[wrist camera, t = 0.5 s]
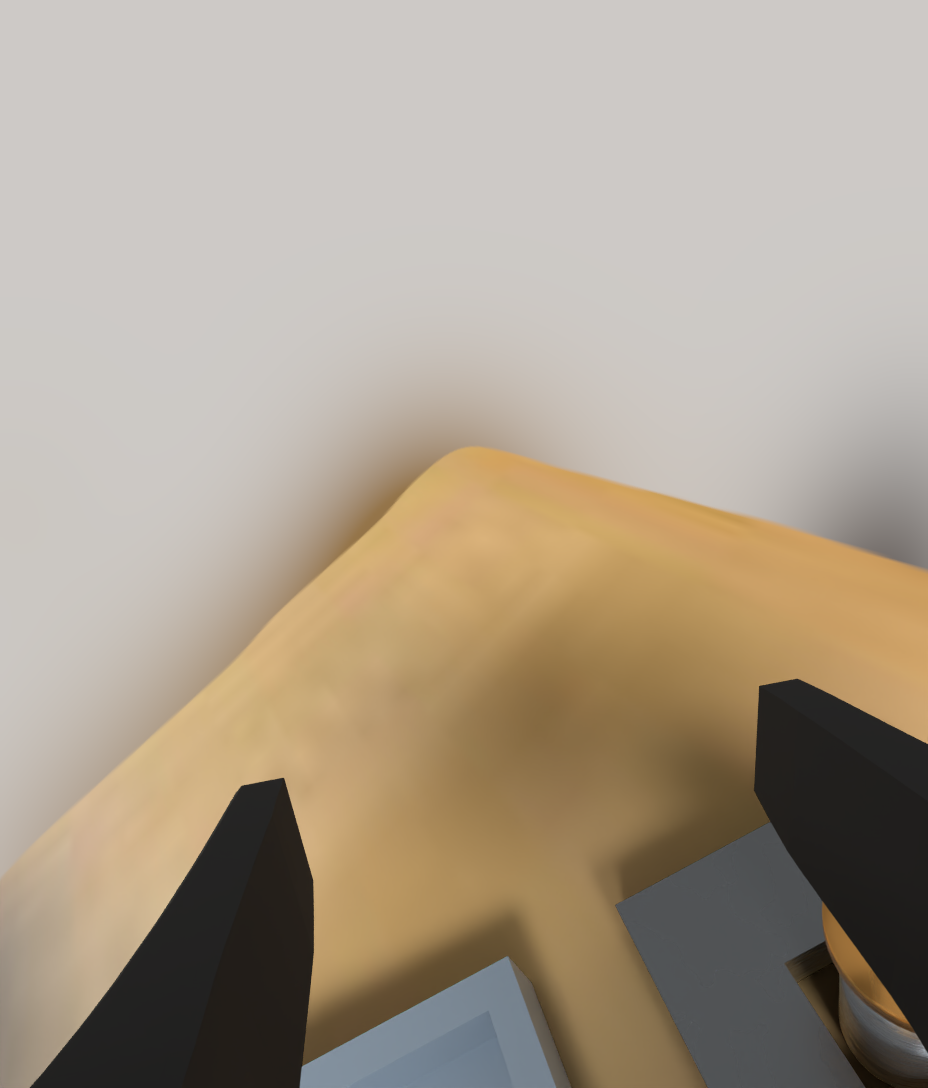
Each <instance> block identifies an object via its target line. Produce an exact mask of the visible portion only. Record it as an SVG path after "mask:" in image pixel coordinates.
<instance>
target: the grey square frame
mask: <svg viewBox="0 0 928 1088" xmlns="http://www.w3.org/2000/svg"><path fill="white" fill-rule="evenodd" d="M615 906H616V908H617V910H618V912H619V914H620V916H621V918H622V920H623V922H624V924H625V926H626V928H627V929H628V931H629V933H630V935H631V937H632V939H633V941H634V943H635V945H636V947H637V949H638V951H639V953H640V955H641V957H642V959H643V961H644V963H645V965H646V967H647V969H648V971H649V973H650V975H651V977H652V979H653V981H654V983H655V985H656V987H657V989H658V991H659V993H660V994H661V996H662V998H663V1000H664V1002H665V1004H666V1006H667V1008H668V1010H669V1012H670V1014H671V1016H672V1018H673V1020H674V1022H675V1024H676V1026H677V1028H678V1030H679V1032H680V1034H681V1036H682V1038H683V1040H684V1042H685V1044H686V1046H687V1048H688V1050H689V1052H690V1054H691V1056H692V1057H693V1059H694V1061H695V1063H696V1065H697V1067H698V1069H699V1071H700V1073H701V1075H702V1077H703V1079H704V1081H705V1083H706V1085H707V1087H708V1088H865V1086H864V1085H863V1083H862V1082H861V1080H860V1079H859V1077H858V1076H857V1074H856V1073H855V1071H854V1070H853V1068H852V1066H851V1065H850V1063H849V1062H848V1060H847V1059H846V1057H845V1056H844V1054H843V1053H842V1051H841V1050H840V1048H839V1047H838V1045H837V1044H836V1042H835V1040H834V1039H833V1037H832V1036H831V1034H830V1033H829V1031H828V1030H827V1028H826V1027H825V1025H824V1024H823V1022H822V1021H821V1019H820V1018H819V1016H818V1014H817V1013H816V1011H815V1010H814V1008H813V1007H812V1005H811V1004H810V1002H809V1001H808V999H807V998H806V996H805V995H804V993H803V992H802V990H801V988H800V987H799V985H798V984H797V982H798V981H800V980H802V979H803V978H805V977H807V976H809V975H811V974H813V973H814V972H816V971H818V970H820V969H822V968H824V967H825V966H827V965H829V964H831V963H833V961H832V959H831V957H830V954H829V952H828V949H827V946H826V942H825V938H824V933H823V923H822V900H821V898H820V897H819V896H818V894H817V893H816V891H815V890H814V889H813V887H812V886H811V884H810V883H809V882H808V880H807V879H806V877H805V876H804V875H803V873H802V872H801V870H800V869H799V868H798V866H797V865H796V863H795V862H794V860H793V859H792V857H791V856H790V855H789V853H788V852H787V850H786V848H785V846H784V845H783V843H782V841H781V839H780V838H779V836H778V834H777V832H776V831H775V829H774V827H773V825H772V823H771V822H769V823H767V824H765V825H763V826H761V827H760V828H758V829H756V830H754V831H752V832H750V833H748V834H747V835H745V836H743V837H741V838H739V839H737V840H735V841H734V842H732V843H730V844H728V845H726V846H724V847H722V848H721V849H719V850H717V851H715V852H713V853H711V854H709V855H708V856H706V857H704V858H702V859H700V860H698V861H696V862H695V863H693V864H691V865H689V866H687V867H685V868H683V869H681V870H680V871H678V872H676V873H674V874H672V875H670V876H668V877H667V878H665V879H663V880H661V881H659V882H657V883H655V884H654V885H652V886H650V887H648V888H646V889H644V890H642V891H641V892H639V893H637V894H635V895H633V896H631V897H629V898H628V899H626V900H624V901H622V902H620V903H618V904H616V905H615Z"/></svg>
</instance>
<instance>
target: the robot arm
mask: <svg viewBox="0 0 928 1088" xmlns="http://www.w3.org/2000/svg"><path fill="white" fill-rule="evenodd" d="M754 791H755V793H756V795H757V797H758V799H759V801H760V803H761V805H762V806H763V808H764V810H765V812H766V814H767V816H768V818H769V820H770V822H771V823H772V825H773V827H774V829H775V831H776V832H777V834H778V836H779V838H780V839H781V841H782V843H783V845H784V846H785V848H786V850H787V852H788V853H789V855H790V856H791V857H792V859H793V860H794V862H795V863H796V865H797V866H798V868H799V869H800V870H801V872H802V873H803V875H804V876H805V877H806V879H807V880H808V882H809V883H810V884H811V886H812V887H813V889H814V890H815V891H816V893H817V894H818V896H819V897H820V898H821V900H822V901H823V903H824V904H825V905H826V907H827V908H828V910H829V911H830V912H831V914H832V915H833V916H834V918H835V919H836V921H837V922H838V923H839V925H840V926H841V928H842V929H843V930H844V932H845V933H846V934H847V936H848V937H849V939H850V940H851V941H852V943H853V944H854V945H855V947H856V948H857V950H858V951H859V952H860V954H861V955H862V957H863V958H864V959H865V961H866V962H867V963H868V965H869V966H870V968H871V969H872V970H873V972H874V973H875V974H876V976H877V977H878V979H879V980H880V981H881V983H882V984H883V986H884V987H885V988H886V990H887V991H888V992H889V994H890V995H891V997H892V998H893V1000H894V1001H895V1003H896V1004H897V1006H898V1007H899V1009H900V1010H901V1012H902V1013H903V1015H904V1016H905V1018H906V1019H907V1021H908V1022H909V1024H910V1025H911V1027H912V1028H913V1030H914V1031H915V1033H916V1035H917V1036H918V1038H919V1040H920V1041H921V1043H922V1045H923V1046H924V1048H925V1050H926V1051H927V1053H928V744H926V743H924V742H922V741H920V740H918V739H916V738H914V737H912V736H910V735H908V734H906V733H905V732H903V731H901V730H899V729H897V728H895V727H893V726H891V725H889V724H887V723H885V722H883V721H881V720H879V719H877V718H875V717H873V716H871V715H869V714H868V713H866V712H864V711H862V710H860V709H858V708H856V707H854V706H852V705H850V704H848V703H846V702H844V701H842V700H840V699H838V698H836V697H834V696H833V695H831V694H829V693H827V692H825V691H823V690H821V689H818V688H816V687H814V686H812V685H810V684H808V683H806V682H804V681H801V680H799V679H794V680H788V681H783V682H778V683H773V684H768V685H762V686H759V702H758V723H757V743H756V764H755V784H754ZM313 955H314V897H313V878H312V875H311V871H310V868H309V864H308V861H307V857H306V854H305V850H304V847H303V843H302V839H301V836H300V832H299V829H298V825H297V822H296V818H295V815H294V811H293V808H292V804H291V801H290V797H289V794H288V790H287V787H286V783H285V780H284V778H280V779H275V780H269V781H264V782H259V783H254V784H249V785H243V786H241V787H240V789H239V790H238V791H237V792H236V794H235V795H234V797H233V799H232V800H231V802H230V804H229V806H228V807H227V809H226V811H225V812H224V814H223V816H222V818H221V819H220V821H219V823H218V824H217V826H216V828H215V830H214V831H213V833H212V835H211V836H210V838H209V840H208V841H207V843H206V845H205V846H204V848H203V850H202V851H201V853H200V855H199V856H198V858H197V859H196V861H195V863H194V864H193V866H192V868H191V869H190V871H189V872H188V874H187V876H186V877H185V879H184V880H183V882H182V883H181V885H180V886H179V888H178V890H177V891H176V893H175V894H174V896H173V897H172V899H171V900H170V902H169V904H168V905H167V907H166V908H165V910H164V911H163V913H162V914H161V916H160V917H159V919H158V920H157V922H156V923H155V925H154V926H153V928H152V929H151V931H150V932H149V934H148V935H147V936H146V938H145V939H144V941H143V942H142V944H141V945H140V946H139V948H138V949H137V951H136V952H135V953H134V955H133V956H132V958H131V959H130V961H129V962H128V963H127V965H126V966H125V968H124V969H123V970H122V972H121V973H120V975H119V976H118V978H117V979H116V980H115V982H114V983H113V985H112V986H111V987H110V989H109V990H108V991H107V993H106V994H105V995H104V997H103V998H102V999H101V1001H100V1002H99V1003H98V1004H97V1006H96V1007H95V1008H94V1010H93V1011H92V1012H91V1014H90V1015H89V1016H88V1018H87V1019H86V1020H85V1021H84V1023H83V1024H82V1025H81V1026H80V1028H79V1029H78V1030H77V1032H76V1033H75V1034H74V1035H73V1036H72V1038H71V1039H70V1040H69V1041H68V1043H67V1044H66V1045H65V1046H64V1048H63V1049H62V1050H61V1051H60V1053H59V1054H58V1055H57V1056H56V1057H55V1059H54V1060H53V1061H52V1062H51V1064H50V1065H49V1066H48V1067H47V1068H46V1070H45V1071H44V1072H43V1073H42V1074H41V1076H40V1077H39V1078H38V1079H37V1080H36V1081H35V1082H34V1084H33V1085H32V1086H31V1087H30V1088H300V1080H301V1070H302V1061H303V1052H304V1042H305V1033H306V1024H307V1014H308V1005H309V995H310V985H311V975H312V965H313Z"/></svg>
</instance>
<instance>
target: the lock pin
mask: <svg viewBox="0 0 928 1088" xmlns="http://www.w3.org/2000/svg"><path fill="white" fill-rule="evenodd" d="M822 923H823V933H824V938H825V942H826V946H827V949H828V952H829V954H830V957H831V959H832V961H833V963H834V965H835V967H836V969H837V970H838V972H839V1022H840V1027H841V1030H842V1033H843V1036H844V1038H845V1041H846V1043H847V1045H848V1047H849V1048H850V1050H851V1052H852V1053H853V1054H854V1056H855V1057H856V1059H857V1060H858V1061H859V1062H860V1063H861V1064H862V1065H863V1066H864V1067H865V1068H866V1069H867V1070H868V1071H869V1072H870V1073H871V1074H873V1075H874V1076H875V1077H877V1078H878V1079H880V1080H881V1081H883V1082H885V1083H887V1084H889V1085H891V1086H893V1087H896V1088H928V1053H927V1051H926V1050H925V1048H924V1046H923V1045H922V1043H921V1041H920V1040H919V1038H918V1036H917V1035H916V1033H915V1031H914V1030H913V1028H912V1027H911V1025H910V1024H909V1022H908V1021H907V1019H906V1018H905V1016H904V1015H903V1013H902V1012H901V1010H900V1009H899V1007H898V1006H897V1004H896V1003H895V1001H894V1000H893V998H892V997H891V995H890V994H889V992H888V991H887V990H886V988H885V987H884V986H883V984H882V983H881V981H880V980H879V979H878V977H877V976H876V974H875V973H874V972H873V970H872V969H871V968H870V966H869V965H868V963H867V962H866V961H865V959H864V958H863V957H862V955H861V954H860V952H859V951H858V950H857V948H856V947H855V945H854V944H853V943H852V941H851V940H850V939H849V937H848V936H847V934H846V933H845V932H844V930H843V929H842V928H841V926H840V925H839V923H838V922H837V921H836V919H835V918H834V916H833V915H832V914H831V912H830V911H829V910H828V908H827V907H826V905H825V904H824V903H823V901H822Z"/></svg>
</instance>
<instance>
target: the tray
mask: <svg viewBox="0 0 928 1088" xmlns="http://www.w3.org/2000/svg"><path fill="white" fill-rule="evenodd" d="M300 1088H572V1087H571V1085H570V1082H569V1079H568V1077H567V1074H566V1072H565V1069H564V1066H563V1064H562V1061H561V1058H560V1056H559V1053H558V1051H557V1048H556V1045H555V1043H554V1040H553V1037H552V1035H551V1032H550V1030H549V1027H548V1024H547V1022H546V1019H545V1017H544V1014H543V1011H542V1009H541V1006H540V1003H539V1001H538V998H537V996H536V993H535V990H534V988H533V985H532V982H531V981H530V980H529V979H528V978H527V977H526V976H525V975H524V973H523V972H522V971H521V970H520V969H519V968H518V967H517V966H516V965H515V963H514V962H513V961H512V960H511V959H510V958H509V957H508V956H507V957H505V958H503V959H501V960H499V961H497V962H495V963H494V964H492V965H490V966H488V967H486V968H484V969H482V970H481V971H479V972H477V973H475V974H473V975H471V976H469V977H468V978H466V979H464V980H462V981H460V982H458V983H456V984H454V985H453V986H451V987H449V988H447V989H445V990H443V991H441V992H440V993H438V994H436V995H434V996H432V997H430V998H428V999H427V1000H425V1001H423V1002H421V1003H419V1004H417V1005H415V1006H414V1007H412V1008H410V1009H408V1010H406V1011H404V1012H402V1013H400V1014H399V1015H397V1016H395V1017H393V1018H391V1019H389V1020H387V1021H386V1022H384V1023H382V1024H380V1025H378V1026H376V1027H374V1028H373V1029H371V1030H369V1031H367V1032H365V1033H363V1034H361V1035H360V1036H358V1037H356V1038H354V1039H352V1040H350V1041H348V1042H346V1043H345V1044H343V1045H341V1046H339V1047H337V1048H335V1049H333V1050H332V1051H330V1052H328V1053H326V1054H324V1055H322V1056H320V1057H319V1058H317V1059H315V1060H313V1061H311V1062H309V1063H307V1064H306V1065H304V1066H302V1070H301V1080H300Z"/></svg>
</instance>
